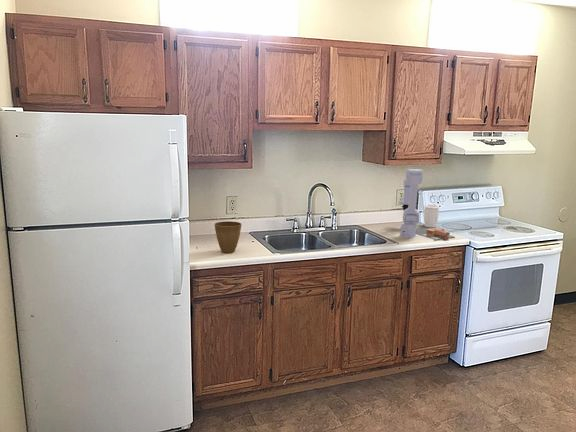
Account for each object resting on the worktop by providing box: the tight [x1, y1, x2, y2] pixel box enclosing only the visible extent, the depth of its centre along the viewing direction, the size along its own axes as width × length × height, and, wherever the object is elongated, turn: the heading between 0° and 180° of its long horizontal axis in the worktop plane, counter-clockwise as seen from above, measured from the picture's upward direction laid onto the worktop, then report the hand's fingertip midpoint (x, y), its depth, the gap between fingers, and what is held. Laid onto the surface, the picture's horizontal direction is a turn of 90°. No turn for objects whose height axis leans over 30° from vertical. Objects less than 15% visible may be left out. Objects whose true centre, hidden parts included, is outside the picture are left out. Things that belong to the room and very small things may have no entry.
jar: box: [423, 204, 440, 228], centre depth 345 cm, size 11×10×15 cm
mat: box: [415, 227, 455, 242], centre depth 322 cm, size 18×30×1 cm, turn 31°
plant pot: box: [214, 220, 242, 254], centre depth 269 cm, size 15×15×16 cm
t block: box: [426, 227, 451, 240], centre depth 313 cm, size 12×12×4 cm
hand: (406, 215), depth 335 cm, fingers closed
